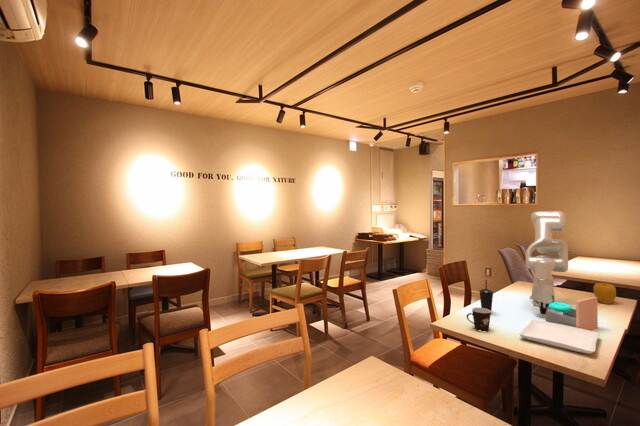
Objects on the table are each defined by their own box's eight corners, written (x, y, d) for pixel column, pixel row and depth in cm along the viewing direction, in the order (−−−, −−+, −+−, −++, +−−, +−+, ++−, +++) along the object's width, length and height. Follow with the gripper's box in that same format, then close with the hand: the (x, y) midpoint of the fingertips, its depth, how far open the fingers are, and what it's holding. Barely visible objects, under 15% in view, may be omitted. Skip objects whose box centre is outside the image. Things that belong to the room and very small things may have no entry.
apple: (593, 299, 206) (593, 280, 206) (616, 302, 199) (616, 282, 199) (592, 303, 198) (592, 283, 198) (616, 306, 191) (616, 285, 191)
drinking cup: (493, 312, 185) (492, 279, 185) (494, 316, 178) (494, 282, 178) (478, 310, 189) (478, 278, 188) (479, 314, 182) (479, 280, 181)
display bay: (546, 323, 166) (545, 294, 166) (564, 318, 173) (564, 290, 172) (579, 334, 152) (578, 301, 152) (597, 328, 159) (597, 297, 159)
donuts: (560, 307, 162) (543, 302, 171) (560, 326, 162) (543, 319, 172) (576, 306, 163) (559, 300, 173) (576, 325, 163) (559, 318, 173)
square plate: (600, 339, 147) (600, 331, 147) (594, 360, 128) (594, 351, 127) (532, 324, 166) (532, 317, 166) (518, 341, 147) (518, 332, 147)
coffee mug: (489, 327, 163) (489, 308, 163) (492, 333, 155) (492, 313, 155) (465, 324, 167) (464, 306, 167) (467, 330, 159) (466, 311, 159)
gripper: (525, 279, 180) (525, 311, 180) (553, 285, 166) (553, 319, 167) (533, 278, 183) (534, 309, 183) (561, 283, 169) (562, 317, 169)
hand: (543, 313), depth 175 cm, fingers closed
